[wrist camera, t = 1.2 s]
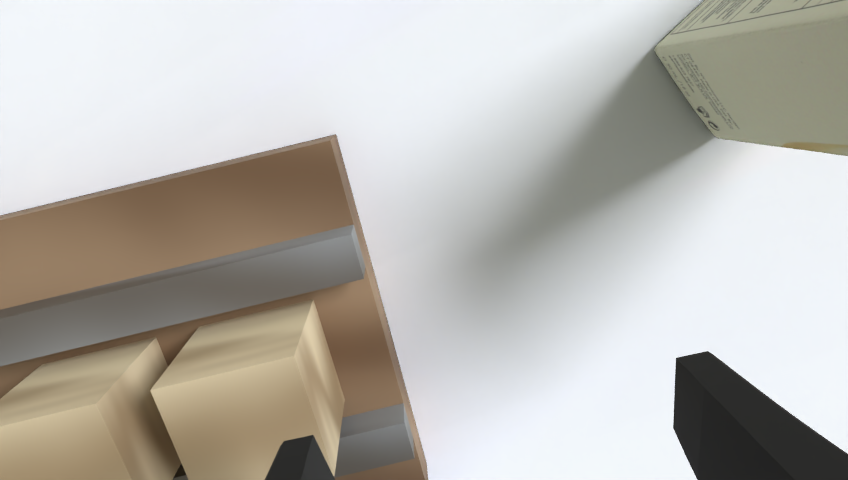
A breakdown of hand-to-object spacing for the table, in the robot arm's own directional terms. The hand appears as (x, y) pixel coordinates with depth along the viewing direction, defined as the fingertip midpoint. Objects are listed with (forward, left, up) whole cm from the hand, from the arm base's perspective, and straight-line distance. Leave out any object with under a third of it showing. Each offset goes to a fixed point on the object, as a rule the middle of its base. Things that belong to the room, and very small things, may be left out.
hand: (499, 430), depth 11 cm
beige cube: (-1, +12, -8) cm, 15 cm away
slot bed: (-1, +10, -10) cm, 14 cm away
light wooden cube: (-1, +7, -8) cm, 11 cm away
